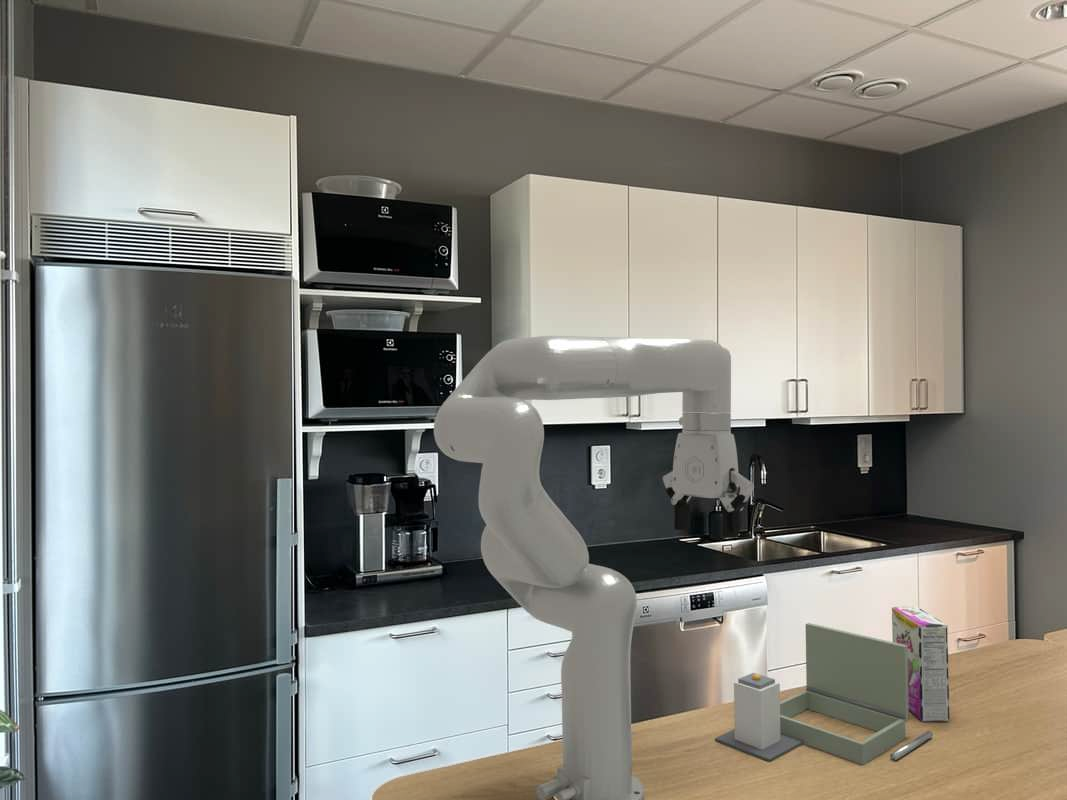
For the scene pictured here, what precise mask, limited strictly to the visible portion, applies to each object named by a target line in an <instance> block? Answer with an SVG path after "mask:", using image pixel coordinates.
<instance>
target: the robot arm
mask: <svg viewBox="0 0 1067 800" xmlns="http://www.w3.org/2000/svg"><path fill="white" fill-rule="evenodd" d="M667 393H682V398H681V399H682V408H681V409H682V415H681V416H680V417H679V419H678V423H679V425H680V426H682V431H681V432H679V433H678V434H677V438H676V443H675V445H674V446H675V448H674V454H673V463H672V470H671V471H670V472H669V473H666V474H665V475H663V477H662V481H663V484H664V486H665V489H666V490H665V491H666V494H667V495H668V497H669V498H670V503H671V505H673V506H674V508H673V509H674V513H673V514H674V521H673V522H674V524H673V526H674V527H673V528H674V530H675V531H676V530H677V531H681V530H683V531H684V530H688V529H690V528H691V504H689V503H688V502H689V501H690V499H691V498H692V497H697V498H705V499H719V501H721V504H722V505H723V507H724V508H725V511H722V537H723V538H726V539H730V538H736V537H737V538H738V537H739V535H740V527H741V525H740V523H741V522H740V519H741V518H740V515H741V513H740V511H743V510H744V507H745V506H746V505H747V504H748V502H749V501H750V496H751V495H752V493H753V490H754V488H755V485H754V483H753V482H752V481H750V480H749V479H747V478H746V477H745V476H744V475H741V474H740V473H739V462H738V461H739V460H738V454H737V453H738V452H737V445H736V439H735V435H734V433H731V432H732V431H731V429H732V427H731V426H732V416H731V415H732V355H731V352H730V350H728V348H726V347H723V346H722V345H721V344H720V343H718V342H716V341H714V340H712V339H695V338H692V339H690V338H688V339H687V338H685V339H684V338H641V337H619V336H618V337H616V336H615V337H614V336H612V337H611V336H575V335H574V336H573V335H571V336H570V335H569V336H568V335H566V336H565V335H541V336H540V335H539V336H532V337H524V338H523V337H522V338H513V339H507V340H504V341H501V342H500V343H498V344H496V345H495V346H494V347H493V348H492V349H491V350H489V351H488V352H487V353H486V354H485V355H484V356H483V357H482V358H481V359H480V361H478V363H476V365H475V366H474V367H473V368H472V369H471V371H470V372H468V374H467V375H466V376H465V378H464V379H462V381H461V382H460V383H459V384H458V385H457V387H455V389H454V390H453V391H452V392H451V394H450V395H449V396H448V397H447V398H446V400H445V401H443V403H442V405H441V406H440V408H439V409H438V412H437V413H436V416H435V419H434V425H433V436H434V440H435V443H436V445H437V447H438V449H440V452H442V453H443V454H444V455H445V456H447V457H449V458H451V459H453V460H455V461H459V462H465V463H478V464H482V467H481V472H480V479H479V487H478V498H477V499H478V508H479V512H480V515H481V518H482V520H483V521H484V523H485V524H486V525H485V526H484V529H483V532H482V534H481V540H480V550H481V551H480V553H481V557H482V559H483V562H484V565H485V566H486V569H487V570H488V572H489V573H490V574H491V575H492V577H493V578H494V579H495V580H496V581H497V582H498V583H499V584H500V585H501V586H502V588H503V589H505V590H506V592H507V593H508V594H509V595H510V596H511V597H512V598H513V599H514V600H515V601H516V602H517V603H518V604H519V605H520V607H521V608H522V609H524V610H525V612H527V614H528V615H530V616H531V617H533V618H534V619H535V620H537V621H540V622H542V623H545V624H548V625H550V626H553V627H558V628H560V629H564V630H565V631H569V632H571V634H572V635H571V639H570V642H569V645H568V646H567V649H566V650H565V653H564V655H563V658H562V662H561V668H560V677H561V679H560V681H561V682H560V683H561V727H562V730H561V731H562V732H561V733H562V764H561V765H558V766H557V768H556V770H557V775H554V777H553V778H552V780H550V781H546V782H545V783H542V784H539V785H538V786H536V789H535V793H536V796H537V798H538V799H539V800H549V799H551V798H553V796H555V797H556V798H557V799H558V800H642V799H643V800H644V798H643V796H645V795H644V794H645V788H644V785H643V784H642V781H641V780H640V779H639V778H638V777H637V776H635V775H634V774H633V761H632V760H633V754H632V753H633V752H632V749H633V748H632V746H633V745H632V699H631V698H632V697H631V696H632V695H631V694H632V693H631V691H632V690H631V689H632V688H631V687H632V686H631V651H632V650H631V647H632V638H633V630H634V627H635V620H636V615H637V607H638V600H637V593H636V590H635V588H634V587H633V584H632V583H631V581H630V580H629V579H628V578H627V577H626V576H625V575H623V574H622V573H620V572H619V571H617V570H614V569H613V568H609V567H605V566H601V565H598V564H597V565H596V564H592V563H589V562H590V555H589V554H590V553H589V551H588V547H587V545H586V542H585V541H584V538H583V537H582V535H581V534H580V533H579V531H578V530H577V529H576V528H575V526H574V525H573V524H572V523H571V521H570V520H569V519H568V518H567V516H565V515H564V513H563V512H562V510H561V509H560V508H559V507H558V506H557V505H556V503H555V502H554V501H553V499H551V497H550V496H549V494H548V493H547V492H546V490H545V489H544V486H543V485H542V482H541V478H540V477H541V476H540V464H541V459H542V457H541V456H542V451H543V447H544V440H545V429H544V423H543V420H542V416H541V414H539V412H538V410H537V409H536V407H535V406H533V404H531V403H529V402H528V401H532V400H533V401H537V400H539V401H560V400H582V399H584V400H585V399H603V398H604V399H605V398H606V399H608V398H609V399H610V398H630V397H639V396H647V395H653V394H654V395H655V394H667ZM739 488H740V490H739ZM738 490H739V494H737V493H738Z"/></svg>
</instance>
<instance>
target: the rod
mask: <svg viewBox="0 0 1067 800" xmlns="http://www.w3.org/2000/svg"><path fill="white" fill-rule="evenodd" d="M933 736H934V734H933V732H932V731H930V730H927V731H925V732H924V733H922V734H920V735H919V736H918V737H916V738H915V739H913V740H911V741H910V742H908V743H906V744H905V745H903V746H902V747H900V748H898V749H897V750H896V751H895V750H894V752H892V753H890V756H889V757H890V759H891V760H892V761H897V760H898V759H900V758H901V757H903V756H905V755H906V754H908V753H910V752H911V751H914V749H915V748H917V747H919V746H921V745H922V744H923V743H925V742H926V741H928V740H930V739H931V738H933Z"/></svg>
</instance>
